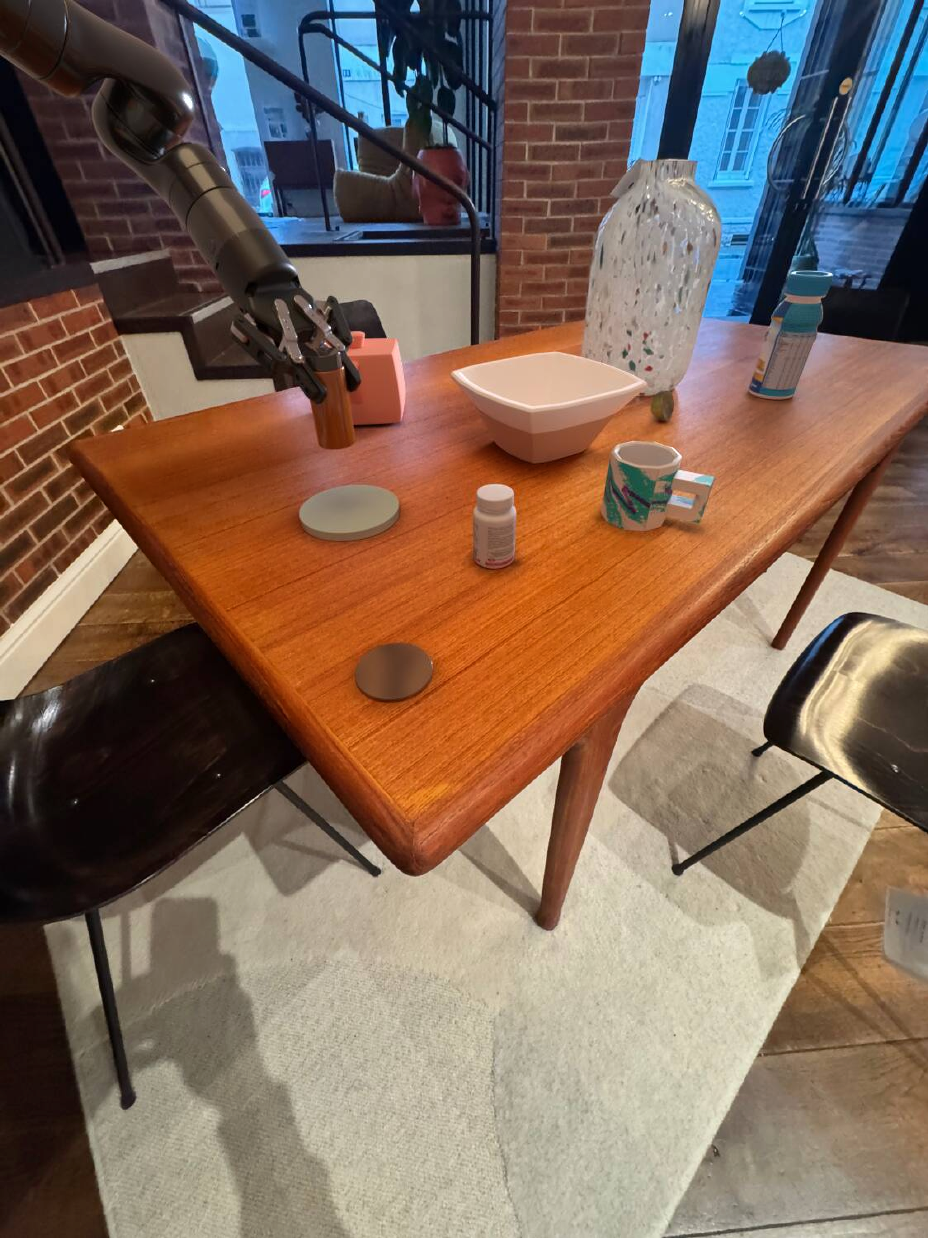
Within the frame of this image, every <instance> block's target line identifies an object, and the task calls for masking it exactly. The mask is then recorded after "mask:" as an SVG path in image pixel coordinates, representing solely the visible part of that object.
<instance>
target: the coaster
mask: <svg viewBox="0 0 928 1238" xmlns="http://www.w3.org/2000/svg"><path fill="white" fill-rule="evenodd" d="M433 673H434V667H433V661H432V659H431V657H430V656H429V654H428V653H427V652H426V651H425V650H423V648H420V647H418V646H416V645H414V644H410V643H406V642H404V643H403V642H392V643H385V644H382V645H379V646H377V647H375V648H372V649H371V650H369V651H368V652H366V653H365V654H364V655H362V657H361V658H360V659H359V661H358V662H357V664H356V666H355V670H354V679H355V683H356V686H357V688H358V690H359V691H360V692H361V693H362V694H364V695H365V696H367V697H368V698H370V699H372V700H375V701H378V702H385V703H394V702H401V701H405V700H408V699H411V698H413V697H415V696H417V695H418V694H420V693H421V692H422V691H424V690H425V688H427V686H428V685H429V684H430V682H431V680H432V678H433Z"/></svg>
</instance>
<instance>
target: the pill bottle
mask: <svg viewBox="0 0 928 1238" xmlns="http://www.w3.org/2000/svg"><path fill="white" fill-rule="evenodd" d="M514 495H515V492H514V490H513V489H512V488H511V487H510V486H508V485H505V484H501V483H500V484H499V483H490V484H485V485H483V486H480V487H479V488H478V489H477V490H476V497H475V502H476V506H475V507H474V508H473V512H472V546H473V547H472V549H473V554H472V555H473V560H474V562H475V563H476V564H478V566H481V567H483V568H486V569H495V570H496V569H502V568H505V567H507V566H509V565H511V563H512V562H513V561H514V560H515V552H516V551H515V549H516V548H515V547H516V527H517V509H516V507H515V506H514V503H515V496H514Z"/></svg>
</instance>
